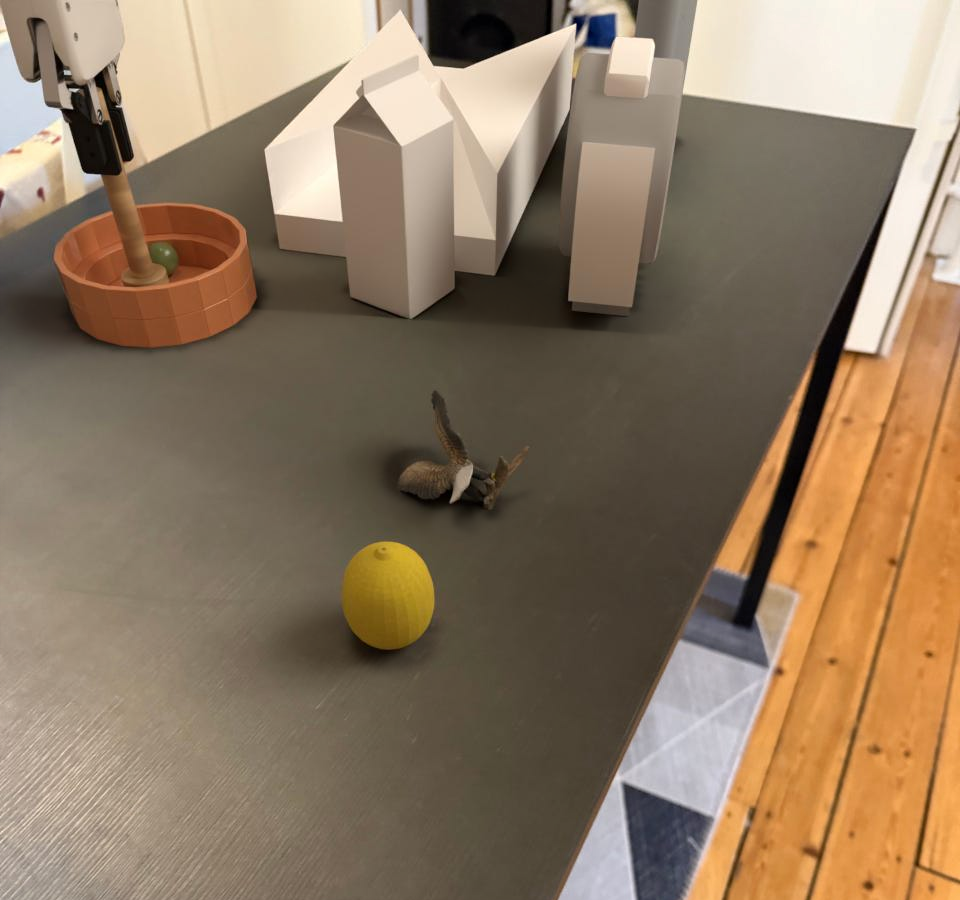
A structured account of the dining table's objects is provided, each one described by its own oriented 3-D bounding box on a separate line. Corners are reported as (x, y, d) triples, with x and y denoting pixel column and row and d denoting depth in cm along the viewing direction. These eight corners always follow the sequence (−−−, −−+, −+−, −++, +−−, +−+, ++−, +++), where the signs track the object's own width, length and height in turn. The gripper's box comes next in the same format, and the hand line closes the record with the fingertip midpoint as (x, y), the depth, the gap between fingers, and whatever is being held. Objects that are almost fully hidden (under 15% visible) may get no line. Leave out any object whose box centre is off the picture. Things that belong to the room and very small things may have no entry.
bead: (140, 272, 87) (139, 237, 85) (171, 273, 88) (171, 240, 87) (152, 278, 85) (151, 243, 83) (184, 279, 86) (183, 245, 85)
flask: (638, 141, 111) (673, -124, 93) (675, 146, 111) (718, -120, 92) (605, 199, 101) (638, -87, 82) (647, 205, 100) (689, -83, 81)
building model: (494, 275, 89) (497, 173, 82) (279, 248, 92) (264, 148, 85) (569, 109, 118) (576, 23, 111) (404, 93, 121) (400, 8, 114)
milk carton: (455, 290, 87) (453, 63, 73) (410, 322, 83) (398, 89, 69) (396, 268, 90) (382, 46, 75) (349, 298, 86) (326, 70, 72)
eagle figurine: (538, 466, 68) (443, 405, 70) (524, 431, 61) (419, 364, 63) (477, 550, 68) (384, 486, 70) (457, 524, 61) (354, 454, 63)
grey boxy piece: (571, 239, 94) (592, 7, 79) (654, 246, 93) (691, 14, 78) (549, 329, 83) (568, 78, 67) (644, 339, 82) (684, 87, 67)
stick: (116, 294, 83) (52, 98, 71) (136, 273, 85) (77, 80, 73) (158, 298, 82) (100, 101, 70) (176, 276, 85) (123, 83, 73)
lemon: (334, 663, 57) (319, 570, 51) (367, 601, 60) (357, 507, 54) (418, 684, 56) (413, 592, 50) (447, 620, 59) (446, 527, 53)
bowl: (47, 349, 80) (22, 283, 75) (114, 260, 90) (96, 198, 86) (230, 361, 79) (216, 295, 74) (276, 270, 89) (266, 207, 85)
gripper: (27, -143, 67) (100, 127, 81) (-80, -95, 57) (25, 205, 71) (126, -139, 67) (183, 132, 81) (37, -90, 57) (120, 211, 71)
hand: (108, 164), depth 76 cm, fingers closed on stick, 2 cm apart
